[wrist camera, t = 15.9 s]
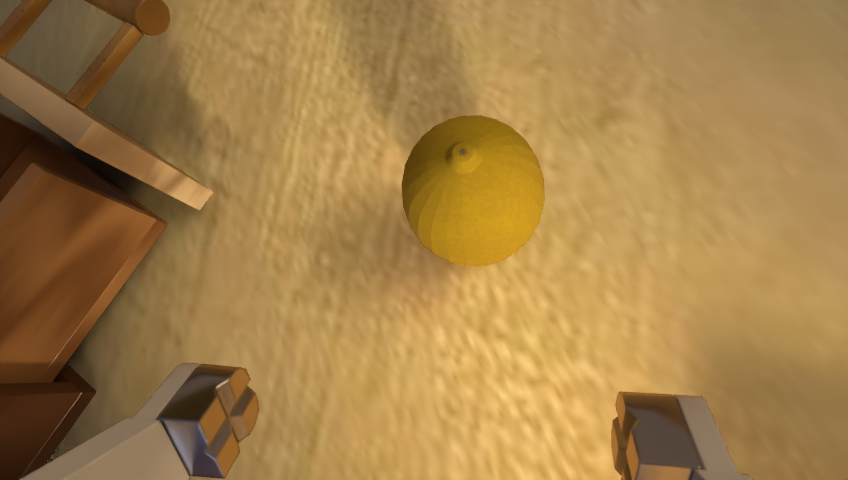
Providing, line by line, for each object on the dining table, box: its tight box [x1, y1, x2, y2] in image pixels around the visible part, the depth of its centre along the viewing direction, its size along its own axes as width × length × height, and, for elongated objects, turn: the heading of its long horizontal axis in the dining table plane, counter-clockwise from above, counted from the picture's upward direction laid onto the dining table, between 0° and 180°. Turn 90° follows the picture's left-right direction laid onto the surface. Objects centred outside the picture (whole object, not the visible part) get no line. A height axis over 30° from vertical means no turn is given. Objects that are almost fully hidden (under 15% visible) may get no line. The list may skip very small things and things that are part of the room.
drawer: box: [0, 0, 213, 384], centre depth 23 cm, size 20×13×7 cm, turn 148°
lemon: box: [402, 116, 545, 267], centre depth 19 cm, size 6×6×8 cm
